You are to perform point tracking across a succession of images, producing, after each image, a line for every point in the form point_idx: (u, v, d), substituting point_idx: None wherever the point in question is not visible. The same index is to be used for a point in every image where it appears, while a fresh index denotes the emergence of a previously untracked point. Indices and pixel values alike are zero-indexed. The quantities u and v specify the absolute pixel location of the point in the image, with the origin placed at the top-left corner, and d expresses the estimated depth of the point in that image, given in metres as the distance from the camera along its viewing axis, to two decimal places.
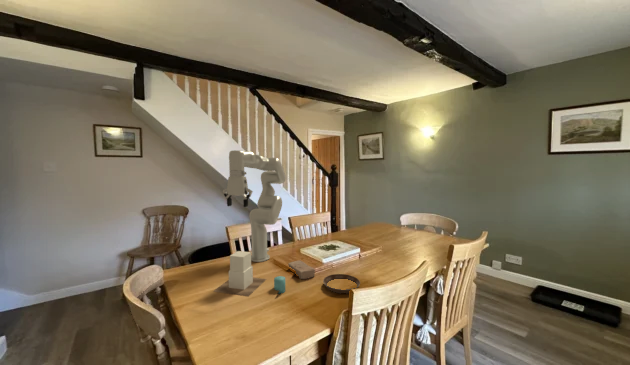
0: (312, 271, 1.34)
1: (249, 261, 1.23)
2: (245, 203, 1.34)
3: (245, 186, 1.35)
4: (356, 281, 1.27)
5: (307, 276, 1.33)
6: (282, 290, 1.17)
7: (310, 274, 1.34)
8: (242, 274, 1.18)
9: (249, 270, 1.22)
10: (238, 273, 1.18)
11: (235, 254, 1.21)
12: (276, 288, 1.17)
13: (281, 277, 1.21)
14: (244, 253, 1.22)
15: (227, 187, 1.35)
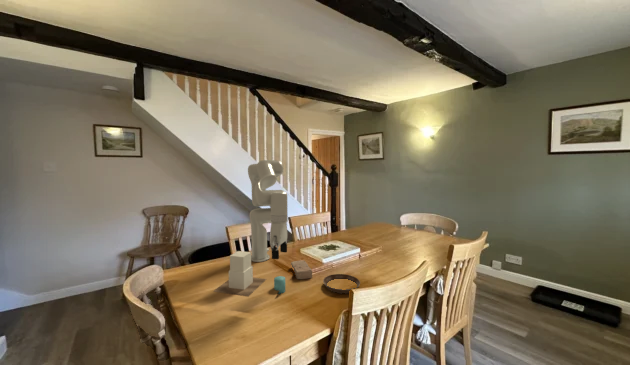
0: (309, 272, 1.33)
1: (249, 261, 1.23)
2: None
3: None
4: (356, 281, 1.27)
5: (303, 276, 1.32)
6: (282, 290, 1.17)
7: (307, 275, 1.33)
8: (242, 274, 1.18)
9: (249, 270, 1.22)
10: (238, 273, 1.18)
11: (235, 254, 1.21)
12: (276, 288, 1.17)
13: (281, 277, 1.21)
14: (244, 253, 1.22)
15: (279, 236, 1.13)
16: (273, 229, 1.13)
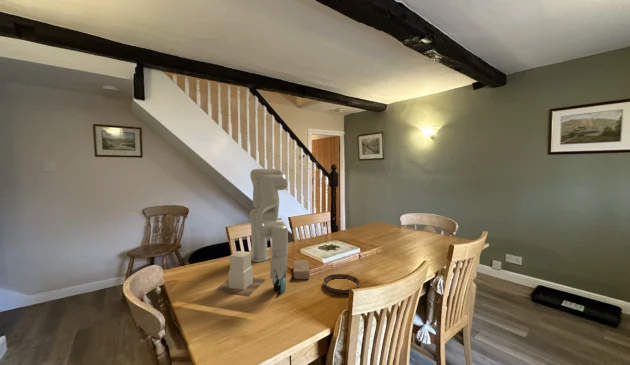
0: (306, 272, 1.32)
1: (249, 261, 1.23)
2: None
3: None
4: (356, 281, 1.27)
5: (300, 277, 1.32)
6: (282, 290, 1.17)
7: (304, 275, 1.32)
8: (242, 274, 1.18)
9: (249, 270, 1.22)
10: (238, 273, 1.18)
11: (235, 254, 1.21)
12: None
13: None
14: (244, 253, 1.22)
15: (280, 271, 1.14)
16: (273, 264, 1.14)
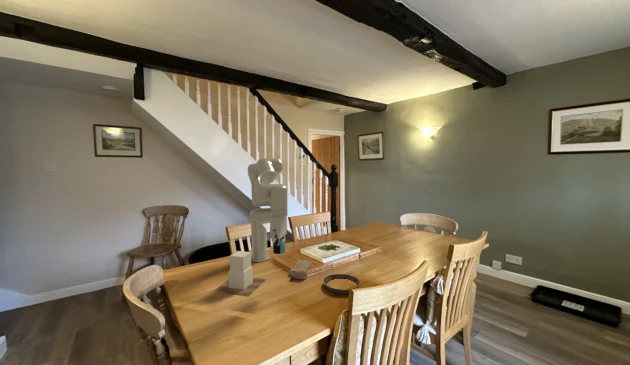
0: (301, 273, 1.32)
1: (249, 261, 1.23)
2: None
3: None
4: (356, 281, 1.27)
5: (296, 276, 1.32)
6: (281, 251, 1.17)
7: (299, 275, 1.32)
8: (242, 274, 1.18)
9: (249, 270, 1.22)
10: (238, 273, 1.18)
11: (235, 254, 1.21)
12: None
13: (281, 238, 1.20)
14: (244, 253, 1.22)
15: (279, 230, 1.13)
16: (273, 223, 1.13)
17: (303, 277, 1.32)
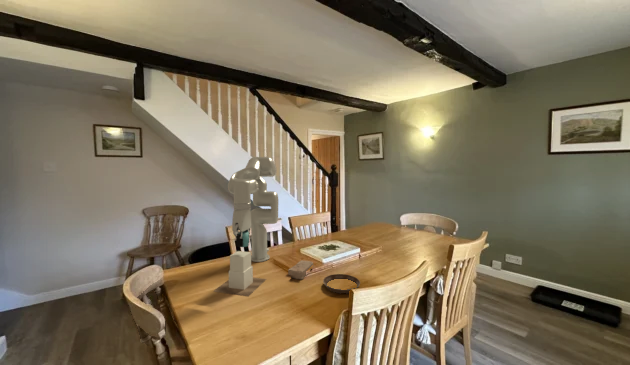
0: (298, 273, 1.32)
1: (249, 261, 1.23)
2: None
3: None
4: (356, 281, 1.27)
5: (293, 276, 1.33)
6: (244, 244, 1.19)
7: (297, 275, 1.32)
8: (242, 274, 1.18)
9: (249, 270, 1.22)
10: (238, 273, 1.18)
11: (235, 254, 1.21)
12: None
13: (244, 232, 1.22)
14: (244, 253, 1.22)
15: (241, 223, 1.16)
16: (235, 216, 1.16)
17: (300, 277, 1.32)
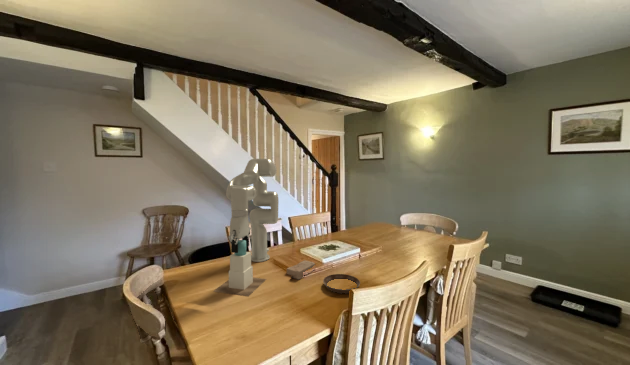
0: (295, 272, 1.32)
1: (249, 261, 1.23)
2: None
3: None
4: (356, 281, 1.27)
5: None
6: (242, 252, 1.20)
7: (294, 275, 1.33)
8: (242, 274, 1.18)
9: (249, 270, 1.22)
10: (238, 273, 1.18)
11: None
12: None
13: (242, 240, 1.23)
14: None
15: (238, 230, 1.16)
16: (232, 223, 1.16)
17: (297, 277, 1.32)
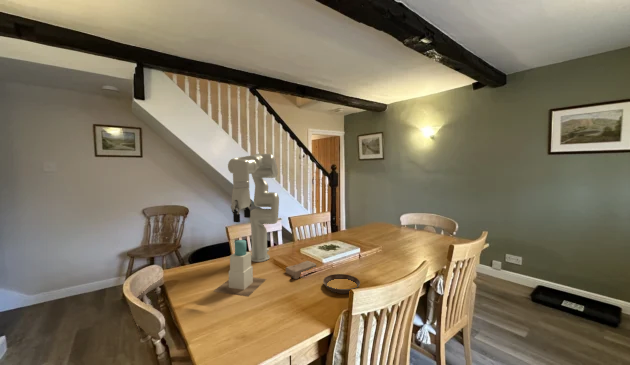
0: (292, 272, 1.33)
1: (249, 261, 1.23)
2: None
3: None
4: (356, 281, 1.27)
5: None
6: (242, 252, 1.20)
7: (291, 274, 1.33)
8: (242, 274, 1.18)
9: (249, 270, 1.22)
10: (238, 273, 1.18)
11: None
12: (236, 250, 1.19)
13: (242, 240, 1.23)
14: None
15: (240, 201, 1.20)
16: (234, 194, 1.21)
17: (294, 277, 1.32)
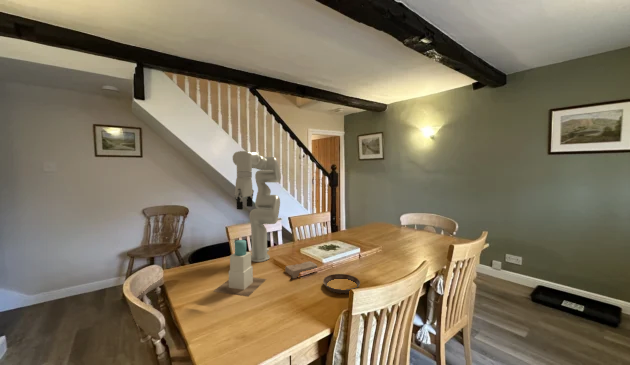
0: (290, 271, 1.34)
1: (249, 261, 1.23)
2: None
3: None
4: (356, 281, 1.27)
5: None
6: (242, 252, 1.20)
7: (289, 273, 1.34)
8: (242, 274, 1.18)
9: (249, 270, 1.22)
10: (238, 273, 1.18)
11: None
12: (236, 250, 1.19)
13: (242, 240, 1.23)
14: None
15: (243, 189, 1.29)
16: (238, 183, 1.29)
17: None
